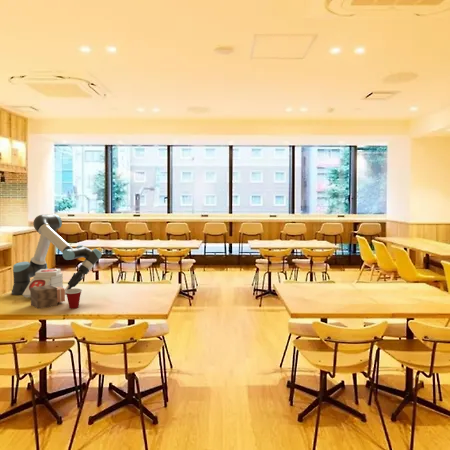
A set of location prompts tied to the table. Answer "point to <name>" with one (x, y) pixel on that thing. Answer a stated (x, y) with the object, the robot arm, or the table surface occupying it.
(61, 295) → the plug
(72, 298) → the plastic cup
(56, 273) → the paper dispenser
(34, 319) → the table surface
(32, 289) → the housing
